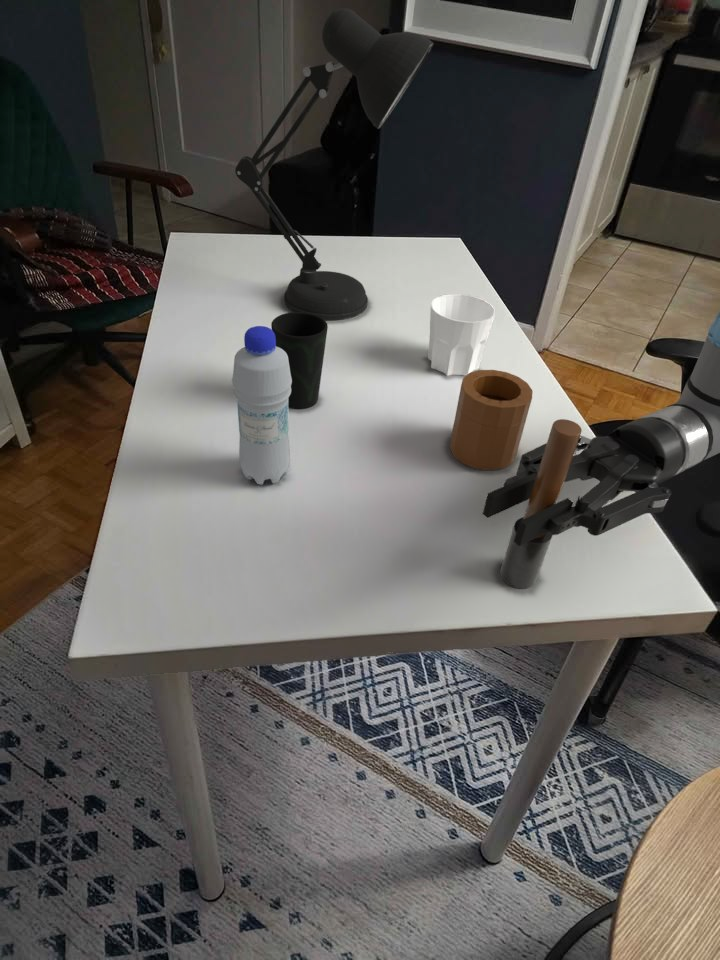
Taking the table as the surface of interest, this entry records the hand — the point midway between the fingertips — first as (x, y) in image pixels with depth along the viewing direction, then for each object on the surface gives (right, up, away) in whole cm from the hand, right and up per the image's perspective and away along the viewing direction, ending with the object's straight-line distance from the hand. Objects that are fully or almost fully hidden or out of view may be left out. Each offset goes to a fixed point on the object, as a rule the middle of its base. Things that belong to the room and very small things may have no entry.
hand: (503, 519), depth 62 cm
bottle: (-26, +4, +20) cm, 33 cm away
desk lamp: (-19, +37, +60) cm, 73 cm away
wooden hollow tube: (+3, +8, +27) cm, 28 cm away
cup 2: (+2, +23, +45) cm, 51 cm away
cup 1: (-23, +16, +34) cm, 44 cm away
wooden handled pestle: (+4, -7, +9) cm, 12 cm away
